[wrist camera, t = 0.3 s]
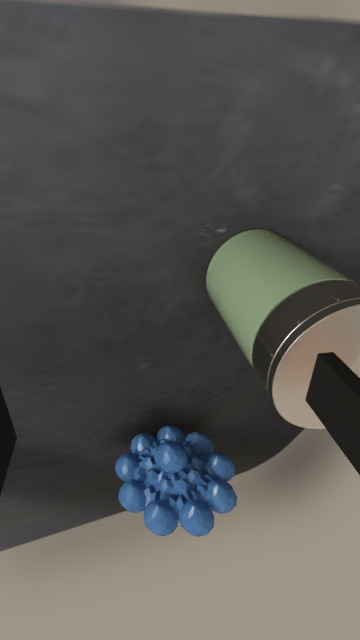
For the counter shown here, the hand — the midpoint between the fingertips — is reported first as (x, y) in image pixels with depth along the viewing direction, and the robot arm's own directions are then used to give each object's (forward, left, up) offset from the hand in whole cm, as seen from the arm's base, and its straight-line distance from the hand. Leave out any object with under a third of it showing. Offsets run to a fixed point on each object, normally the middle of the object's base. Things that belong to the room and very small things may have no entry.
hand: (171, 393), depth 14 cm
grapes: (+19, +2, -16) cm, 25 cm away
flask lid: (+2, +10, -2) cm, 10 cm away
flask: (+2, +10, -16) cm, 19 cm away
